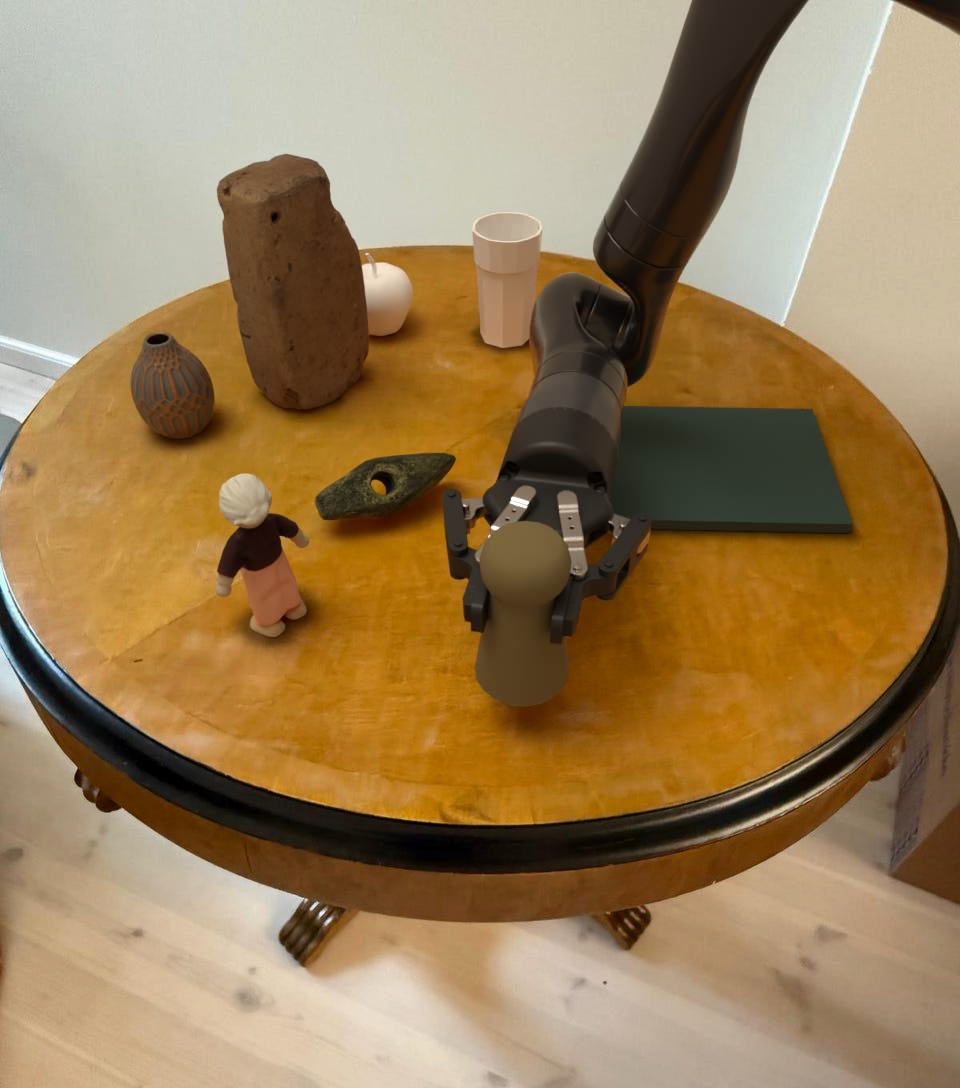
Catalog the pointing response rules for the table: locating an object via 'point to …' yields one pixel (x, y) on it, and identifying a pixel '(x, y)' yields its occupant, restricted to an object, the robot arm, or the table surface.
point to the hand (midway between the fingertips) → (516, 627)
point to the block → (294, 281)
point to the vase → (171, 388)
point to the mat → (727, 470)
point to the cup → (506, 275)
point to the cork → (522, 614)
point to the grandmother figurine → (259, 554)
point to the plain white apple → (386, 297)
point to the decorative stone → (400, 478)
